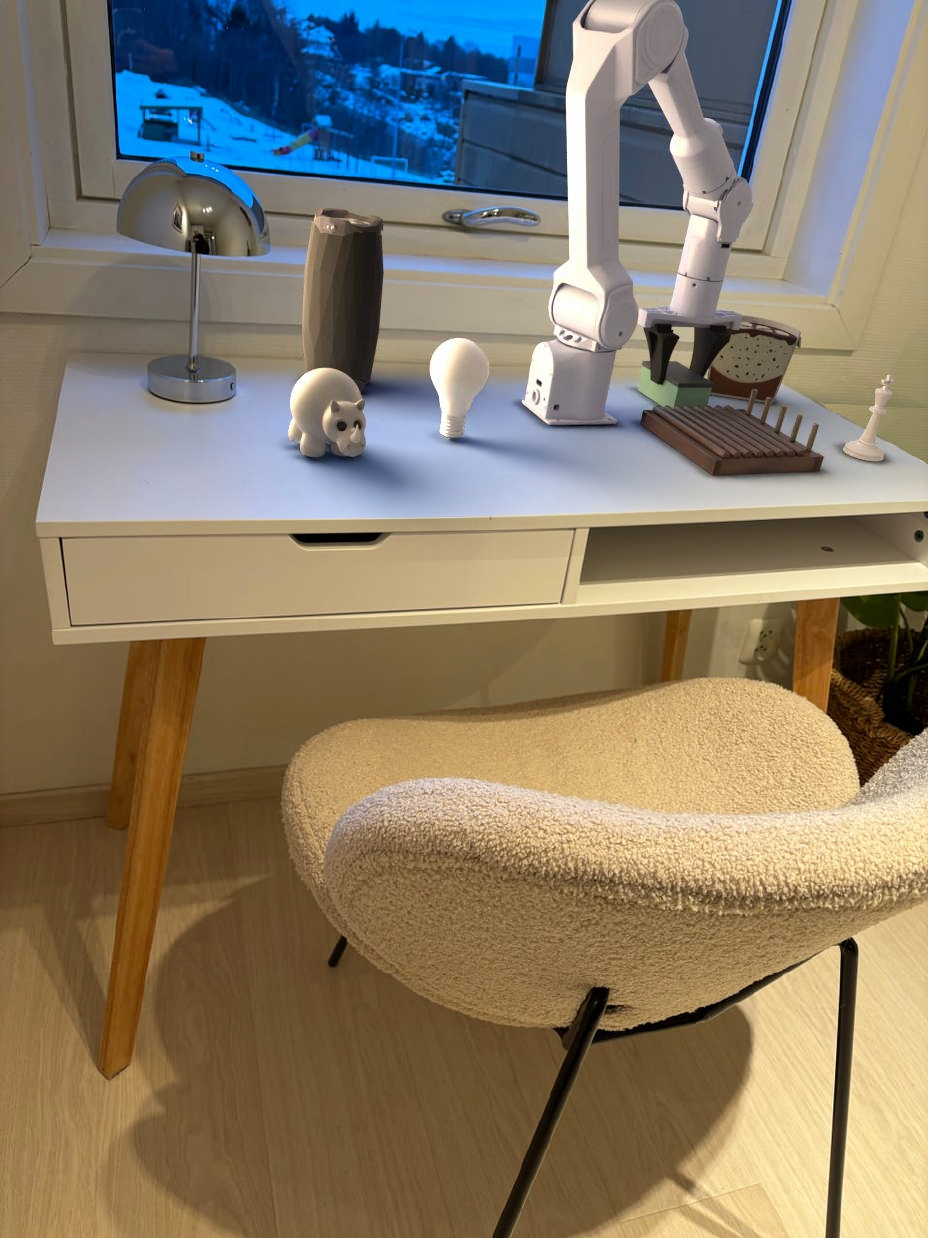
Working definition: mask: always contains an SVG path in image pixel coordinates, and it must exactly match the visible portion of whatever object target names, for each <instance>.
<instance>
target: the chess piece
mask: <svg viewBox="0 0 928 1238" xmlns="http://www.w3.org/2000/svg"><path fill="white" fill-rule="evenodd" d="M880 384H881V385H883V386H882V387H878V388H875V391H874V395H875V397H874V405H872V406H871V405H870V406H869V408H868V411H869V412H870V413H872V414H871V416H870V418H869V421H868V423H867V424H866V427H865V429H864V431H863V433H862V435H861V436H860V437H859V438H857V440H851V441H847V442H845V443H844V446H843V447H842V450H843V452H844V453H845V454H846V455H848V456H850V457H852V458H855V459H859V460H862V461H867V462H881V461H884V459H885V457H884V456H885V454H886V453H885V451H884V449H882V447H880V446H878V442H877V441H876V439H877V433H878V429H879V423H880V419H881V415H887V413H888V412H887V409H886V408H885V406H886V404H887V403H888V402H889V400H890V399H891V398H892V396H893V395H894V393H893V391H892V390H891V389H889V388H890V385H894V384H895V380H894V379H893V375H892V374H887V375H886V377H885V379H881V381H880Z"/></svg>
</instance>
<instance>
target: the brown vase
mask: <svg viewBox="0 0 928 1238" xmlns="http://www.w3.org/2000/svg"><path fill="white" fill-rule="evenodd" d="M383 231H384V224H383V218H382V217H380V216H377V215H371V216H364V215H360V214H356V213H352V212H350V211H348V209H344V208H343V209H342V208H341V209H340V208H334V207H333V208H332V207H326V208H319V209H318V210H317V211H316V212H315V215H314V218H313V219H312V220H311V226H310V232H309V239H308V246H307V251H306V258H305V265H304V273H303V294H302V295H303V297H302V319H301V320H302V321H301V332H302V333H301V334H302V356H303V366H304V371H305V374H307V373H308V372H310V371H312V370H315V369H320V368H332V369H336V370H339V371H341V372H343V373H345V374H346V375H348V376H349V377H350V378H351V379H352V380H353V381H354V382H355V384H356V385H357V387H358V388H359V391H360V393H362V392H363V390H364V389H365V387H366V385H367V384H368V383H369V382H370V381H371V379H372V375H373V374H372V373H373V368H374V363H375V358H376V353H377V345H378V341H379V334H380V325H381V324H380V323H381V314H382V313H381V312H382V298H383V287H384V286H383V285H384V274H385V272H384V271H385V270H384V253H383V250H384V249H383V235H382V232H383Z"/></svg>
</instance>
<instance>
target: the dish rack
mask: <svg viewBox="0 0 928 1238" xmlns="http://www.w3.org/2000/svg"><path fill="white" fill-rule="evenodd" d="M757 391H758V390H756V389H752V391H751V395H750V399H749V400H748V402H747V407H746V409H745V408H734V407H733V406H731V405H730V404H725V405H724V407H722V406H721V405H720V404H716V405H715V406H713V407H712V406H711V405H709V404H708V405H706V406H705V407H704V408H702V407H701V406H699V405H696V406H695V407H694V408H692V407H691V406H689V405H686V406H685V407H684V408H682V407H680V406H679V405H676V406H675V407H674V408H671V407H670V406H668V405H666V406H664V407H662V406H660V405H654V406H653V407H652V409H642V412H641V417H640V420H639V424H640V425H641V426H642V427H644V428H645V429H647V430H648V431H650V433H652V434H653V435H654V436H656V437H658V438H659V439H661V440H662V441H663V442H664V443H666V444H667V445H669V446H671V448H673V449H675V450H676V451H678V452H679V453H680V454H681V455H683V456H685V457H686V458H688V460H690V461H692V462H693V463H694V464H696V465H697V466H698V467H699V468H701V469H703V470H704V471H705V472H707V473H708V474H709V475H712V476H722V475H725V476H727V475H744V474H745V475H749V474H750V475H751V474H752V475H753V474H774V473H798V472H801V473H803V472H820V471H821V469H822V465H823V462H824V460H825V456H824V455H823V454H821V453H820V452H816V451H814V450H813V447H814V444H815V441H816V437H817V434H818V432H819V428H820V424H819V423H815V422H814V423H813V424H812V426H811V429H810V433H809V437H808V439H807V442H806V445H804V444H802V443H801V442H799V441H797V438H798V434H799V431H800V427H801V424H802V421H803V418H804V415H803V414H801V413H797V414H796V417H795V420H794V424H793V427H792V430H791V433H790V436H789V435H787V433H784V432H783V431H782V427H783V424H784V419H785V416H786V413H787V410H788V406H787V405H784V404H783V405H781V406H780V409H779V413H778V417H777V420H776V424H775V427H774V426H772V425H771V424H769V423H767V419H768V416H769V412H770V408H771V405H772V404H771V401H772V398H771V397H767V398H766V401H765V403H764V404H763V408H762V411H761V415H760V418H759V417H757V416H756V415H754V414H753V413H752V412H753V409H754V407H755V402H756V401H755V399H756V395H757Z"/></svg>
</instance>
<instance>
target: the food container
mask: <svg viewBox="0 0 928 1238" xmlns="http://www.w3.org/2000/svg"><path fill="white" fill-rule="evenodd" d="M742 315H743V317H742V321H741V325H740V329H739V330H732V329H730V328H726V331H727V332H729V333H731V338H730V341H729V342H728V343H727V344H726V345H725V346H724V347H723V349H722V350H721V351H720V352H719V353H718V355H717V356H716V357H715V359H714V360H713V362H712V363H711V365H710V367H709V369H708V370H707V378H706V379H708V380H709V381H711V382H713V383H714V386H713V388H712V390H711V394H710V396H718V397H725V398H732V399H738V400H745V401H749V399H750V395H751V391H752V389H756V390H758V391H757V395H756V399H755V402H757V403H764V404H765V401H766V398H767V397H771V398H772V401H771V405H773V404H774V402H775V400H776V398H777V395H778V392H779V390H780V387H781V385H782V382H783V380H784V378H785V375H786V373H787V370H788V367H789V365H790V362H791V360H792V357H793V355H794V353H795V350H796V348H798V349H801V347H802V336H801V334H802V332H801V331H800V330H799V329H798V328H795V327H793V326H791V325H789V324H786V323H783V322H780V321H777V320H772V319H768V318H763V317H759V316H752V315H744V314H742Z"/></svg>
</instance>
